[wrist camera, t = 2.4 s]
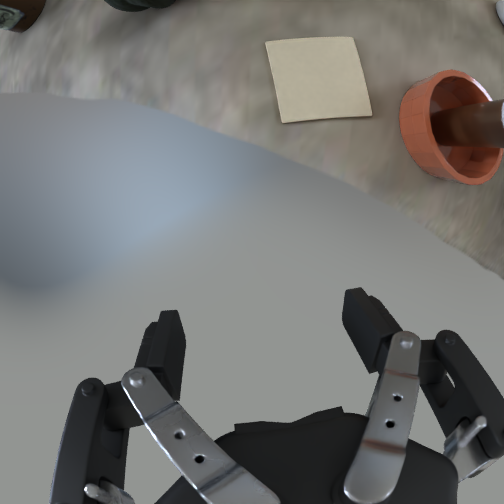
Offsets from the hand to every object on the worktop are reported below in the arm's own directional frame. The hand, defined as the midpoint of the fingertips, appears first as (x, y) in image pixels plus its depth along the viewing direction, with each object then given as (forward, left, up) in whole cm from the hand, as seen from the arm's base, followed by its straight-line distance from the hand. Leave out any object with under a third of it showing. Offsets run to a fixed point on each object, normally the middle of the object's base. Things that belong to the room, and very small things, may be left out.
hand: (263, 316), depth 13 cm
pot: (-10, +24, -21) cm, 34 cm away
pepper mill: (-10, +24, -21) cm, 33 cm away
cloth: (-17, +8, -21) cm, 28 cm away
